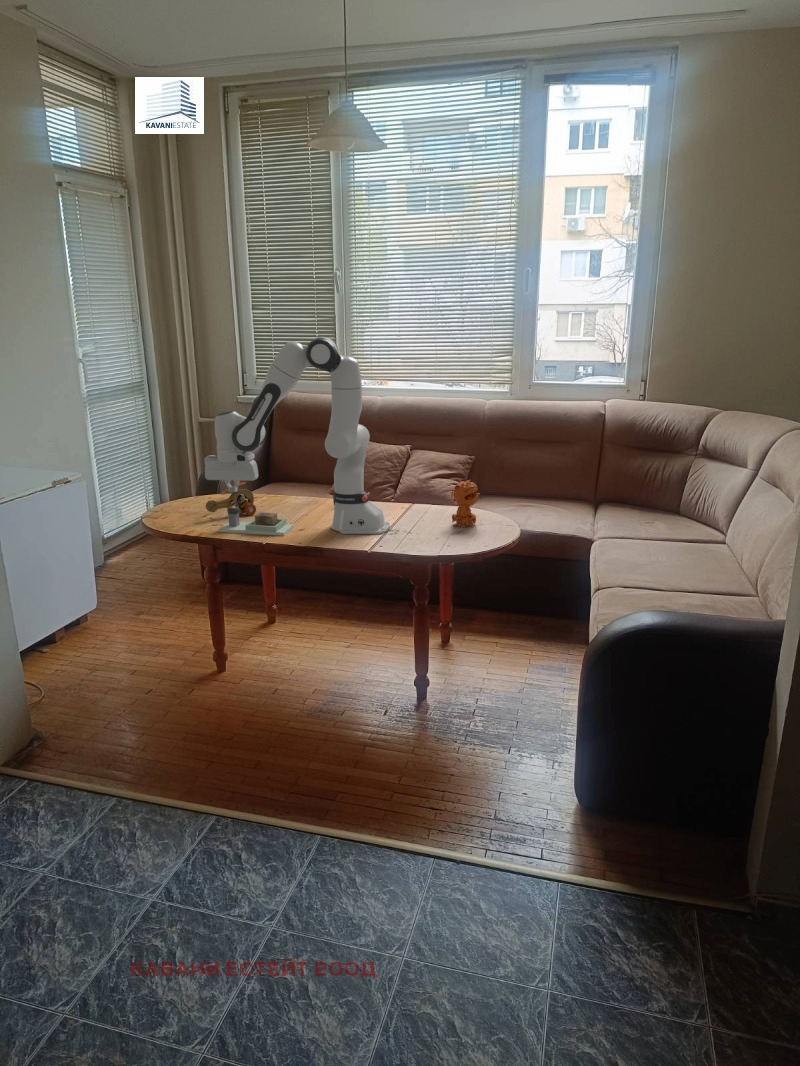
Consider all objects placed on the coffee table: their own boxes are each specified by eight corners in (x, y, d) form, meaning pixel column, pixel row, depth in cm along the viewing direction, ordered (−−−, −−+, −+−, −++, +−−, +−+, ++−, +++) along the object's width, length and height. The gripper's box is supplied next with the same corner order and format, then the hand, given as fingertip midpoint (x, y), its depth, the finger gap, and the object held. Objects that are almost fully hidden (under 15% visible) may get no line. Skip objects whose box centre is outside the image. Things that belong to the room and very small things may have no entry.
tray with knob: (294, 527, 275) (293, 511, 273) (284, 535, 264) (283, 519, 263) (230, 523, 280) (229, 508, 278) (218, 531, 269) (217, 516, 268)
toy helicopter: (259, 514, 293) (257, 481, 290) (212, 523, 280) (209, 489, 276) (249, 510, 299) (246, 478, 295) (203, 519, 286) (200, 485, 282)
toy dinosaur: (479, 529, 272) (481, 482, 267) (450, 528, 273) (451, 482, 268) (478, 521, 283) (479, 476, 278) (450, 520, 284) (451, 476, 278)
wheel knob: (241, 519, 275) (240, 505, 273) (237, 522, 270) (236, 508, 269) (231, 518, 275) (230, 505, 274) (226, 521, 271) (225, 508, 270)
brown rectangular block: (277, 525, 273) (277, 513, 271) (273, 529, 268) (272, 516, 267) (260, 524, 274) (259, 512, 273) (255, 528, 270) (254, 515, 268)
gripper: (199, 456, 265) (203, 492, 269) (251, 457, 261) (255, 493, 265) (207, 453, 271) (211, 489, 274) (258, 453, 267) (261, 490, 270)
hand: (233, 491), depth 269 cm, fingers closed
